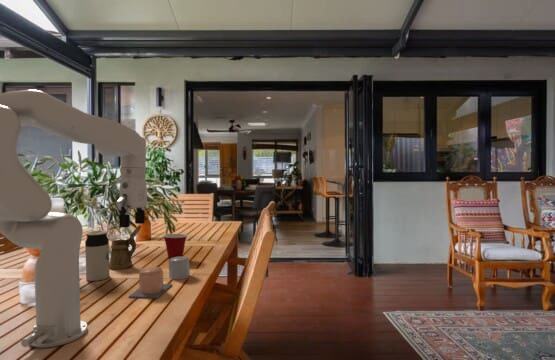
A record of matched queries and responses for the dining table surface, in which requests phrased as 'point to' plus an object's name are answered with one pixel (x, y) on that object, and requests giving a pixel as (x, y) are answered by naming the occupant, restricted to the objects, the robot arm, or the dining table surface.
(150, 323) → the dining table surface
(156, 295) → the mat
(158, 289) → the terracotta cup
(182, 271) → the grey cup
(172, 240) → the plastic cup
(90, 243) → the travel mug
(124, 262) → the wooden mug
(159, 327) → the dining table surface
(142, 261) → the dining table surface
